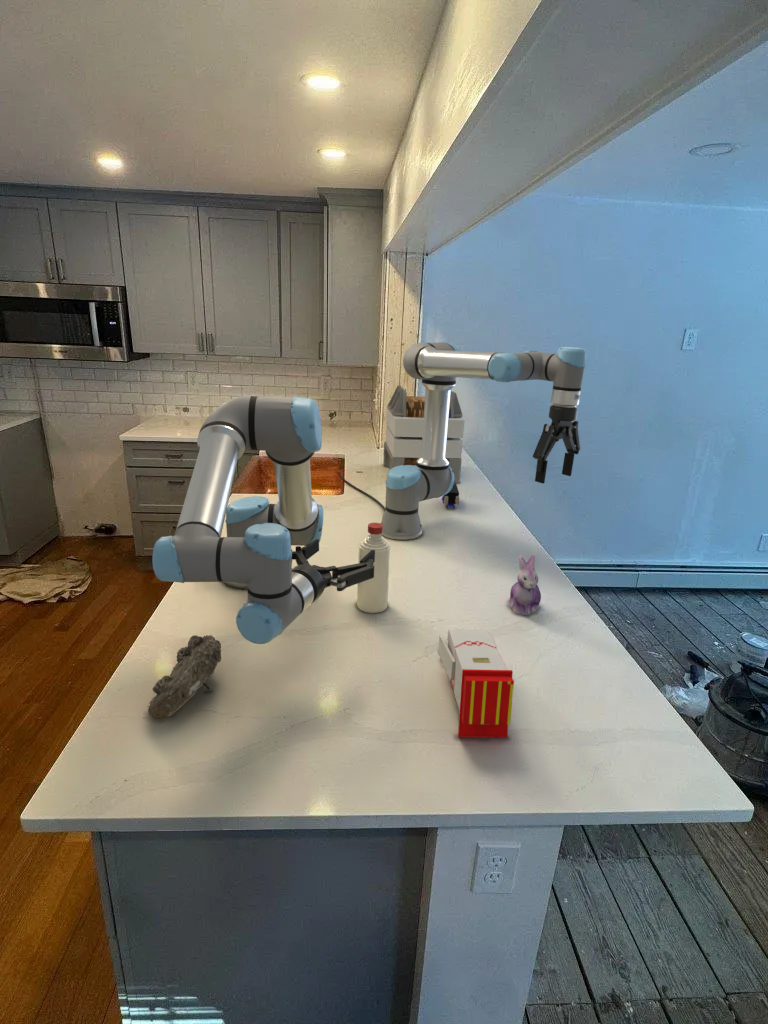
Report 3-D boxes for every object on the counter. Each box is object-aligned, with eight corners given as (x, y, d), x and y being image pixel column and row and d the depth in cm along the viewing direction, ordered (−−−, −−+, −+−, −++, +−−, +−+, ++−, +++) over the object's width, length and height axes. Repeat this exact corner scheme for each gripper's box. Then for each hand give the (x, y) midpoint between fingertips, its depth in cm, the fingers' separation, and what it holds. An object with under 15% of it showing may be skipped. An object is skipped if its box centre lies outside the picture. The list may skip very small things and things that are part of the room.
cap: (365, 533, 143) (366, 526, 142) (370, 528, 146) (370, 521, 146) (380, 535, 142) (380, 528, 141) (384, 530, 145) (384, 523, 145)
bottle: (353, 609, 149) (355, 529, 141) (362, 595, 156) (365, 519, 148) (382, 615, 147) (386, 534, 139) (390, 600, 154) (394, 523, 146)
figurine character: (459, 513, 226) (454, 497, 240) (461, 496, 223) (456, 481, 236) (442, 513, 226) (439, 497, 239) (444, 496, 222) (440, 480, 236)
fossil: (175, 637, 125) (222, 606, 120) (205, 666, 128) (253, 637, 123) (125, 712, 105) (179, 678, 100) (162, 744, 108) (217, 713, 103)
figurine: (523, 619, 147) (531, 567, 142) (498, 602, 156) (505, 552, 150) (551, 612, 151) (559, 561, 146) (525, 595, 160) (532, 546, 155)
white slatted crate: (382, 463, 289) (386, 382, 275) (445, 464, 293) (451, 384, 279) (390, 482, 257) (394, 392, 243) (460, 483, 261) (468, 394, 247)
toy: (488, 613, 130) (523, 677, 101) (484, 667, 133) (517, 744, 104) (435, 612, 130) (455, 676, 101) (432, 666, 133) (451, 743, 103)
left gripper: (242, 594, 112) (295, 555, 131) (358, 621, 104) (396, 576, 123) (241, 559, 110) (295, 525, 129) (359, 584, 102) (398, 544, 121)
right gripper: (550, 410, 147) (539, 488, 154) (600, 404, 163) (587, 475, 170) (526, 406, 152) (516, 482, 160) (576, 400, 168) (565, 469, 175)
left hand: (345, 550), depth 126 cm, fingers open, 13 cm apart
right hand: (553, 478), depth 165 cm, fingers open, 13 cm apart
